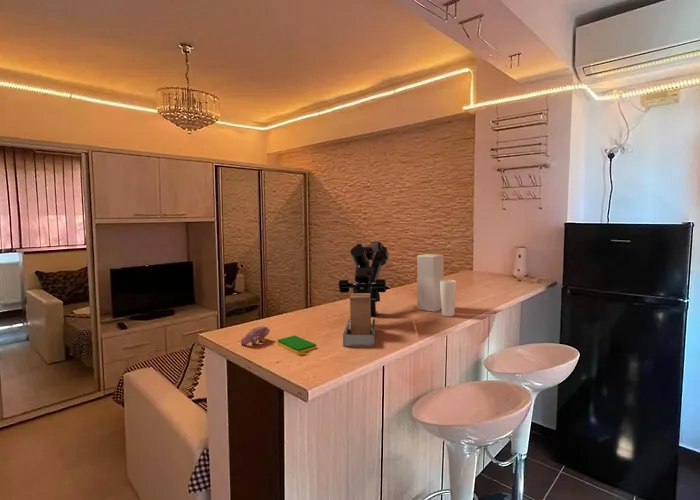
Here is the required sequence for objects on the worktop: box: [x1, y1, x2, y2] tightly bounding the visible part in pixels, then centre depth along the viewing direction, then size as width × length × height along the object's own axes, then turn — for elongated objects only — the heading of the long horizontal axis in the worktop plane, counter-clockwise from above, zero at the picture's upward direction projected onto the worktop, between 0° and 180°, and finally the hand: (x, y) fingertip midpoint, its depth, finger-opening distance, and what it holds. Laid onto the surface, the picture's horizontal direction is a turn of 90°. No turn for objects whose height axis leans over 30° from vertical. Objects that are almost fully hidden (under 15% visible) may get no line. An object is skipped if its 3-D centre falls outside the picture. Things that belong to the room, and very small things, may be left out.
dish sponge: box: [277, 335, 317, 356], centre depth 131 cm, size 7×14×2 cm, turn 39°
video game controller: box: [240, 325, 271, 346], centre depth 137 cm, size 10×5×7 cm, turn 148°
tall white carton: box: [416, 253, 445, 313], centre depth 179 cm, size 9×9×25 cm
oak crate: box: [349, 293, 372, 335], centre depth 142 cm, size 7×7×14 cm
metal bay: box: [342, 318, 376, 348], centre depth 138 cm, size 20×10×5 cm, turn 175°
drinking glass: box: [440, 279, 457, 317], centre depth 167 cm, size 7×7×15 cm
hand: (361, 304), depth 150 cm, fingers closed
